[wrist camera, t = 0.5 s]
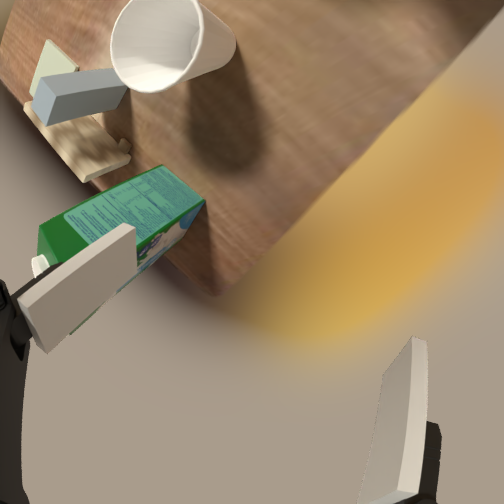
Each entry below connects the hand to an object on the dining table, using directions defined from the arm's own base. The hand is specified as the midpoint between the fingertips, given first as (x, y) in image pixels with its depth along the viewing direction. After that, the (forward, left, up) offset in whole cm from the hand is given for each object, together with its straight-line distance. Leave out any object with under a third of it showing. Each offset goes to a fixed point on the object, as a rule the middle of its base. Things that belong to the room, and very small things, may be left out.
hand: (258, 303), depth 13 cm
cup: (-12, -19, -28) cm, 36 cm away
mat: (-8, -55, -28) cm, 62 cm away
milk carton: (+12, -24, -28) cm, 39 cm away
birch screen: (+1, -41, -28) cm, 49 cm away
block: (-6, -36, -28) cm, 46 cm away
